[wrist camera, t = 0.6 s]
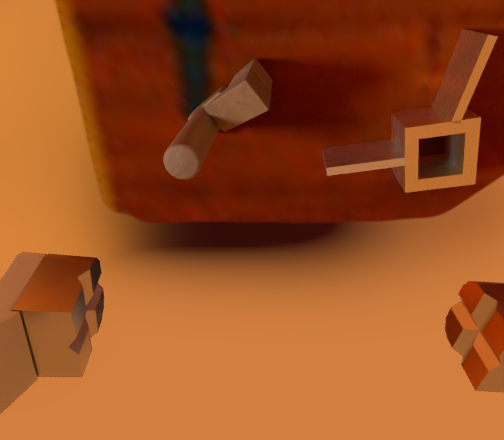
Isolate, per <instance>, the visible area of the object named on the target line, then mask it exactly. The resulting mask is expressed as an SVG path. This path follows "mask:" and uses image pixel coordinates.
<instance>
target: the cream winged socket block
mask: <svg viewBox="0 0 504 440" xmlns="http://www.w3.org/2000/svg"><path fill="white" fill-rule="evenodd" d="M497 38H498V36H493V35H489V34H484V33H480V32H475V31H470V30H466V29H462V30H461V33H460V36H459V38H458V41H457V43H456V46H455V48H454V51H453V53H452V56H451V58H450V61H449V64H448V66H447V69H446V71H445V74H444V76H443V79H442V81H441V84H440V87H439V89H438V92H437V94H436V97H435V99H434V102H433V104H432V106H429V107H422V108H416V109H409V110H402V111H395V112H391V138H392V139H386V140H379V141H371V142H364V143H357V144H350V145H343V146H335V147H328V148H322V154H323V159H324V164H325V168H326V173H327V176H329V175H337V174H344V173H352V172H360V171H368V170H375V169H383V168H391V167H392V171H393V173H394V175H395V177H396V178H397V180H398V182H399V183H400V185H401V187H402V188H403V190H404V192H405V193H406V192H414V191H422V190H431V189H439V188H447V187H455V186H464V185H472V184H475V181H476V170H477V158H478V147H479V136H480V124H481V117H480V116H478V115H477V114H475V113H474V112H472V111H471V110H469V109H468V108H467V107H468V104H469V102H470V100H471V97H472V95H473V93H474V90H475V88H476V86H477V84H478V81H479V79H480V77H481V74H482V72H483V70H484V67H485V65H486V63H487V61H488V58H489V56H490V54H491V51H492V49H493V47H494V44H495V42H496V40H497ZM438 136H444V139H443V154H435V155H428V156H420V157H418V154H419V139H424V138H431V137H438Z"/></svg>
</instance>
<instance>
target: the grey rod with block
mask: <svg viewBox="0 0 504 440" xmlns="http://www.w3.org/2000/svg"><path fill="white" fill-rule="evenodd" d="M271 88H272V78H271V77H270V76H269V75H268V73H267V72H266V71H265V69H264V68H263V67H262V65H261V64H260V63H259V61H258V60H257V59H253V60H252V61H251V62H250V63H248V64H247V65H246V66H245V67H244V68H243V69H241V70H240V71H239V72H238V73H237V74H236V75H235V76H234V78H233V79H232V81H231V83H230V84H229V86H228V87H227V86H222V87H220V88H219V89H218V90H217V91H216V92H215V93H213V94H212V95H211V96H210V97H209V98H208V99H206V100H205V101H204V102H203V103H202V104H201V105H199V106H198V107H197V108H196V109H195V110H194V111H193V112H192V113H191V114H190V116H189V117H188V122H187V123H186V124H185V126H184V127H183V128H182V130H181V131H180V133H179V134H178V135H177V137H176V138H175V139H174V141H173V142H172V143H171V145H170V146H169V147H168V149H167V150H166V151H165V154H164V165H165V168H166V169H167V171H168V172H169V173H170V174H171V175H172V176H174V177H176V178H178V179H190V178H192V177H194V176H196V175H197V173H198V172H199V171H200V169H201V167H202V164H203V162H204V160H205V158H206V156H207V154H208V152H209V150H210V148H211V146H212V143H213V141H214V139H215V137H216V135H217V133H218V131H219V130H220V129H222V131H223V132H225V131H227V130H230V129H232V128H234V127H236V126H238V125H240V124H242V123H244V122H246V121H248V120H250V119H252V118H254V117H256V116H258V115H260V114H262V113H264V112H266V111H268V110H269V106H270V99H271Z"/></svg>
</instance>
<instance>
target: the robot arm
mask: <svg viewBox="0 0 504 440" xmlns="http://www.w3.org/2000/svg"><path fill="white" fill-rule="evenodd" d="M100 275H101V266H100V261H99V259H98V258H93V257H80V256H68V255H57V254H40V253H28V252H22V253H20V254H19V255H17V256H16V257H15V258H14V260H13V261H12V263H11V264H10V266H9V267H8V269H7V270H6V272H5V273H4V275H3V276H2V278H1V279H0V414H1V413H2V412H3V411H4V410H5V409H6V408H7V407H8V406H10V405H11V404H12V403H13V402H14V401H15V400H16V399H17V398H18V397H19V396H20V395H21V394H22V393H23V392H25V390H27V389H28V388H29V387H30V386H31V385H32V384H33V383H34V382H35V381H36V380H37V379H38V378H37V377H82V376H83V374H84V371H85V368H86V365H87V362H88V359H89V357H90V354H91V351H92V346H91V339H90V338H91V337H92V336H93V335H95V334H96V333H97V332H98V330H99V327H100V324H101V321H102V314H103V309H104V291H103V288H102V287H101V286H100V285H99V284H98V281H99V278H100ZM458 294H459V297H460V300H461V301H460V302H458V303H457V304H455V305H454V306H453V307H451V309H450V310H449V312H448V315H447V317H446V323H445V331H446V335H447V339H448V341H449V342H450V344H451V346H452V348H453V349H454V350H456V351H457V352H458V353H459V354H461V355H462V356H463V359H462V363H461V365H462V367H463V369H464V370H465V372H466V374H467V376H468V378H469V380H470V381H471V383H472V385H473V387H474V389H475V390H476V391H489V392H504V283H494V282H476V281H468V282H467V283H466V284H464V285H463V286H462V288H461V290H460V291H459V293H458Z"/></svg>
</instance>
